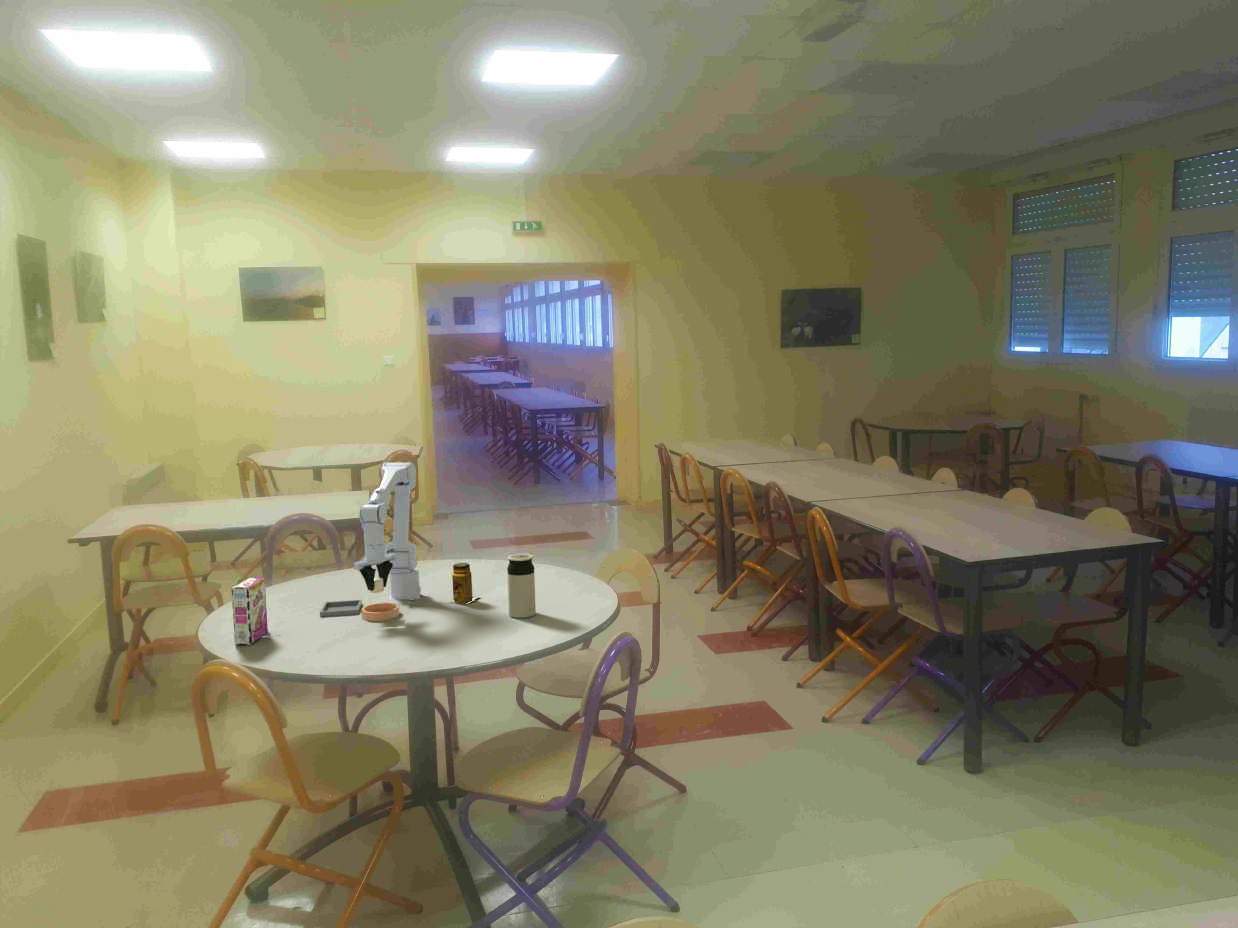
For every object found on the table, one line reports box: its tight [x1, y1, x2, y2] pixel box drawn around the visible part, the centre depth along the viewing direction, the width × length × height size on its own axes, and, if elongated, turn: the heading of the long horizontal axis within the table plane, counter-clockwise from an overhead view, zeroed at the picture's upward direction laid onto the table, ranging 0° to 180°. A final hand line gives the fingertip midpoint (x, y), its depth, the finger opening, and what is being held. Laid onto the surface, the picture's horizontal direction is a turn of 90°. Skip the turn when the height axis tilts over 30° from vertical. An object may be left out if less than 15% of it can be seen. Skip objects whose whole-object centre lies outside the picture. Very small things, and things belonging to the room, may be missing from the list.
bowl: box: [360, 602, 401, 622], centre depth 268 cm, size 11×11×3 cm
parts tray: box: [319, 599, 363, 618], centre depth 274 cm, size 11×11×2 cm
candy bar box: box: [231, 577, 269, 646], centre depth 249 cm, size 11×5×16 cm, turn 178°
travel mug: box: [507, 553, 537, 619], centre depth 266 cm, size 8×8×18 cm
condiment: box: [448, 562, 474, 604], centre depth 283 cm, size 7×8×12 cm
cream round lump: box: [369, 577, 385, 594], centre depth 267 cm, size 4×4×4 cm
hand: (377, 588), depth 267 cm, fingers closed on cream round lump, 4 cm apart
